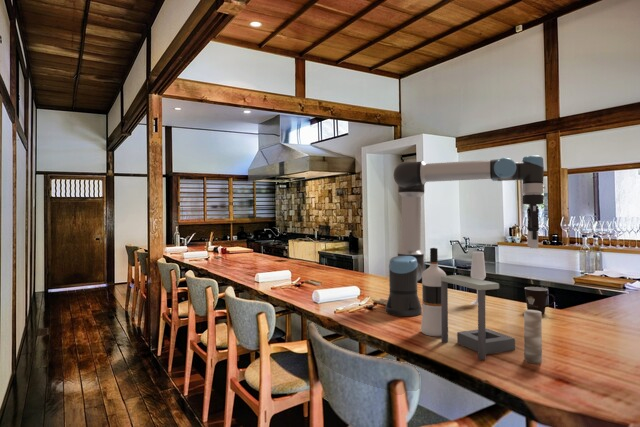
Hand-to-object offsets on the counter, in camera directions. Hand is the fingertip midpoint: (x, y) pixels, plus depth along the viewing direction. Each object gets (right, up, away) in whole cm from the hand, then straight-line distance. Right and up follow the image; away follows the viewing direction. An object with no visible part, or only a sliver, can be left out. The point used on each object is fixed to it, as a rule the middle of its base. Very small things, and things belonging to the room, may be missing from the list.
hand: (532, 247), depth 165 cm
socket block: (-33, -28, -35) cm, 56 cm away
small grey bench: (-39, -28, -38) cm, 61 cm away
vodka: (-45, -29, -21) cm, 58 cm away
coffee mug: (+6, -28, +6) cm, 30 cm away
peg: (-25, -28, -48) cm, 61 cm away
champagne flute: (-12, -28, +25) cm, 40 cm away
